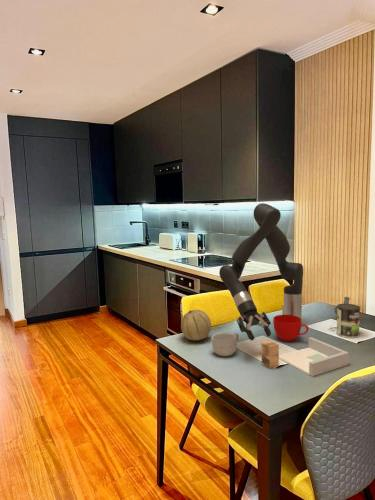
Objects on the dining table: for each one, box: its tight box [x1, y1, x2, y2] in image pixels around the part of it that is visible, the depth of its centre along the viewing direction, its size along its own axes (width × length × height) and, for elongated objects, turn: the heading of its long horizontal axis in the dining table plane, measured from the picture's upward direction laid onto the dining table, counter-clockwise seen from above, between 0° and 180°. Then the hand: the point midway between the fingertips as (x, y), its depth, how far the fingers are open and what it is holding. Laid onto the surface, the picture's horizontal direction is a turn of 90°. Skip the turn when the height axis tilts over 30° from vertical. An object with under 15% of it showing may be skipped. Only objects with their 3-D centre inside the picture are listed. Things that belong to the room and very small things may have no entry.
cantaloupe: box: [180, 309, 212, 341], centre depth 175 cm, size 15×15×15 cm
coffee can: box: [336, 303, 361, 339], centre depth 176 cm, size 10×10×14 cm
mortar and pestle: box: [334, 296, 351, 316], centre depth 198 cm, size 11×9×12 cm
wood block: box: [261, 340, 280, 370], centre depth 145 cm, size 5×5×9 cm
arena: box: [279, 336, 350, 377], centre depth 148 cm, size 20×20×5 cm
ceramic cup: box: [272, 314, 309, 342], centre depth 171 cm, size 13×17×10 cm
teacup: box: [211, 332, 240, 357], centre depth 159 cm, size 14×11×8 cm
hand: (261, 337), depth 149 cm, fingers open, 8 cm apart
